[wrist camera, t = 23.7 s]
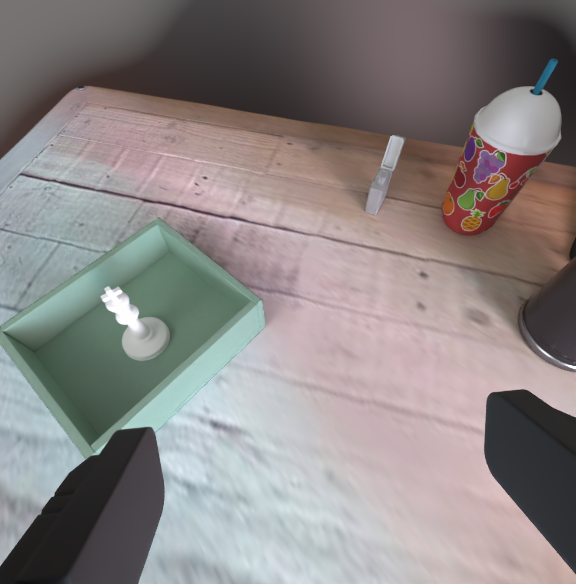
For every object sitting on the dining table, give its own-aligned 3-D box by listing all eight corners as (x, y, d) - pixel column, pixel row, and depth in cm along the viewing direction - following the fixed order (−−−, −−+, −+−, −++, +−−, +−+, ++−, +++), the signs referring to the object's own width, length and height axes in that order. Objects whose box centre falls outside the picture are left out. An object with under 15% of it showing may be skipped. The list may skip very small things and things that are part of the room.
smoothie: (505, 214, 50) (615, 54, 33) (483, 254, 46) (594, 98, 29) (447, 189, 52) (521, 29, 36) (421, 225, 49) (490, 66, 32)
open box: (172, 248, 47) (158, 216, 42) (266, 326, 41) (262, 299, 36) (28, 355, 40) (-10, 332, 35) (116, 470, 33) (86, 461, 29)
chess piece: (116, 335, 40) (68, 284, 31) (157, 311, 41) (122, 256, 33) (135, 370, 38) (90, 325, 29) (178, 343, 39) (147, 293, 31)
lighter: (375, 215, 50) (389, 167, 43) (363, 211, 50) (375, 162, 44) (392, 183, 53) (407, 133, 46) (381, 179, 54) (393, 129, 47)
